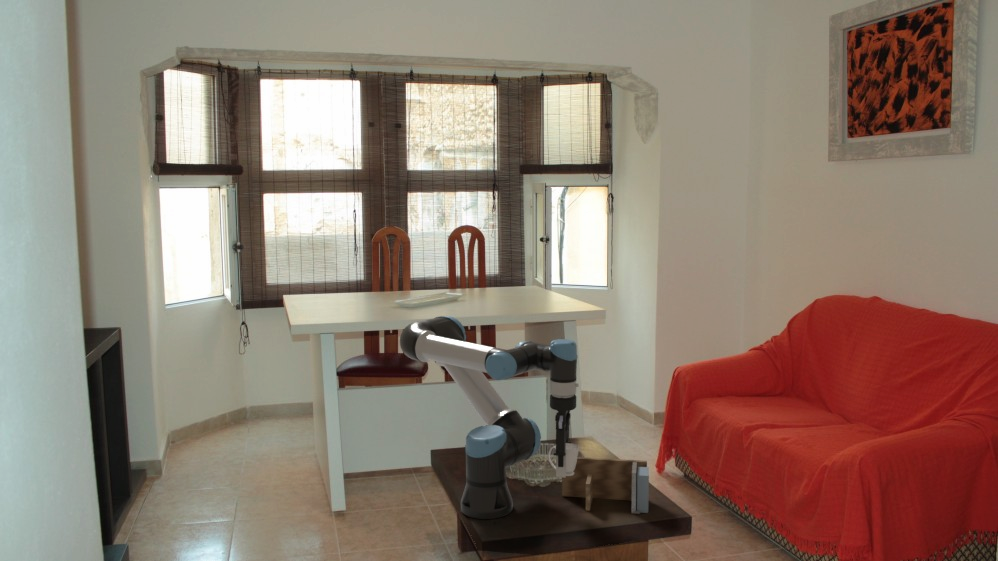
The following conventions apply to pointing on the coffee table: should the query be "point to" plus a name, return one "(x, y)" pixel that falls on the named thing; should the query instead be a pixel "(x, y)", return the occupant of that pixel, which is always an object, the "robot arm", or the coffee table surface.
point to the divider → (588, 492)
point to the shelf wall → (601, 478)
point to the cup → (568, 458)
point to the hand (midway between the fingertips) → (562, 472)
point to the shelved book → (643, 489)
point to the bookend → (634, 489)
